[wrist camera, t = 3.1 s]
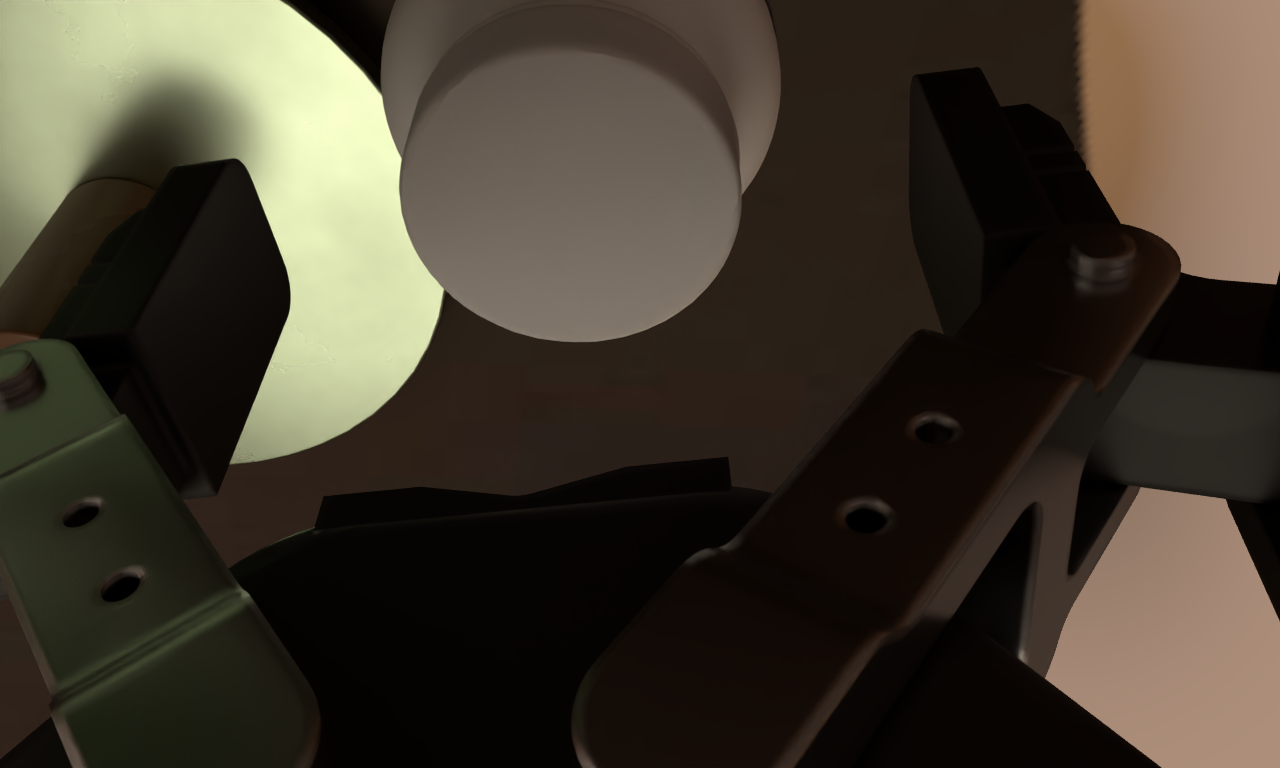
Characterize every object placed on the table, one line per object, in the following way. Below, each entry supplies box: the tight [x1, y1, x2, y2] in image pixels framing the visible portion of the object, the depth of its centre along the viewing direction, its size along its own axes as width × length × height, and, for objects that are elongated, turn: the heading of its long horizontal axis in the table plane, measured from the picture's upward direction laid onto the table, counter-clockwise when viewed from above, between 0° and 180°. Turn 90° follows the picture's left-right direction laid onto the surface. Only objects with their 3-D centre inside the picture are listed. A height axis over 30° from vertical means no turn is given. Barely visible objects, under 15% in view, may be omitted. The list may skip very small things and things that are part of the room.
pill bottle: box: [381, 0, 781, 342], centre depth 17 cm, size 5×5×10 cm
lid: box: [0, 0, 447, 465], centre depth 22 cm, size 13×13×6 cm
